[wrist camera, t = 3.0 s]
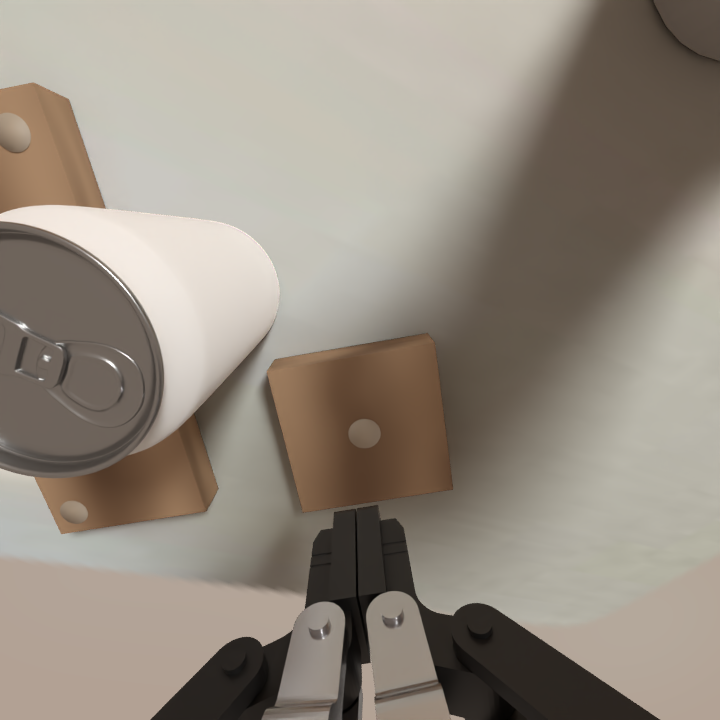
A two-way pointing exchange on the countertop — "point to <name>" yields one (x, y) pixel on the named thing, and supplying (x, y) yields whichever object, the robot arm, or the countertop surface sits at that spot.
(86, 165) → the tile
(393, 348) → the tile
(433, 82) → the countertop surface
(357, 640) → the robot arm
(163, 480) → the tile
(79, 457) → the can
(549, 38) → the countertop surface
